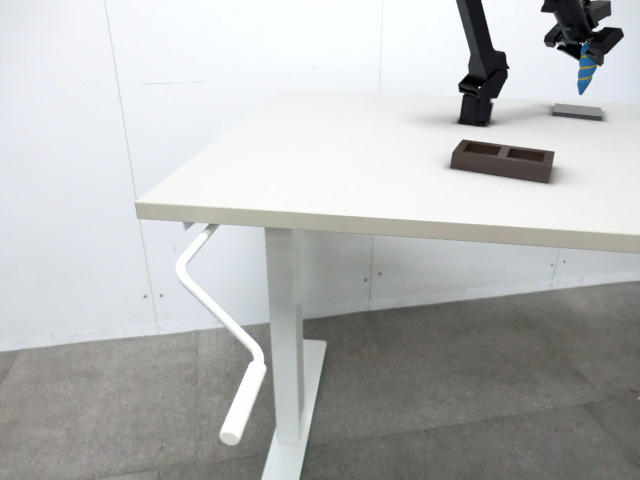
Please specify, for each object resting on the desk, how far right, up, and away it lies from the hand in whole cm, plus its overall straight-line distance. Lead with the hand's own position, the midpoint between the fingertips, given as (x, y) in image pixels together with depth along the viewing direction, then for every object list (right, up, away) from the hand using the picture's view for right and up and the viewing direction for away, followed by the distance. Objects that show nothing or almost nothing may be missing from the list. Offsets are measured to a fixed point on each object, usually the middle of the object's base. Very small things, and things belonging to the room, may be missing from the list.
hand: (593, 63), depth 118 cm
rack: (-35, -31, -32) cm, 57 cm away
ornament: (-1, -7, +3) cm, 8 cm away
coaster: (-1, -11, +5) cm, 12 cm away
